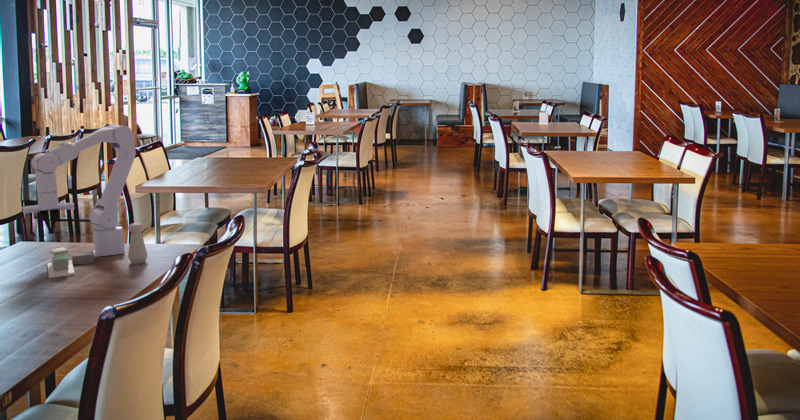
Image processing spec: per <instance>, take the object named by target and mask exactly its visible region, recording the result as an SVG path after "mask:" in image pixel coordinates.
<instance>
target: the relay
mask: <svg viewBox="0 0 800 420" xmlns="http://www.w3.org/2000/svg"><path fill="white" fill-rule="evenodd" d="M71 260H72V264H73V266H74V265H82V264H83V265H84V264H85V265H86V264H94V260H95V257H94V254H93V251H85V252H84V251H83V252H73V253H72V254H71Z"/></svg>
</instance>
